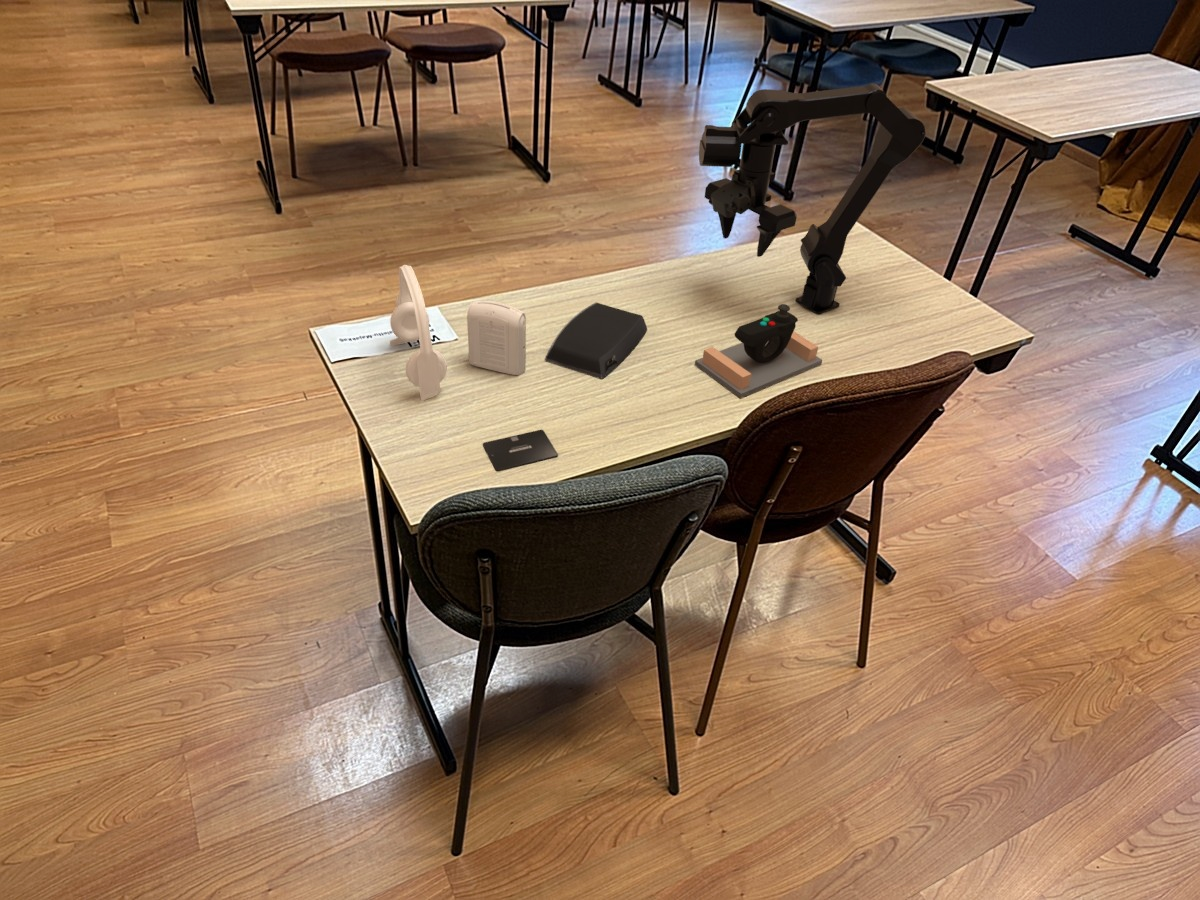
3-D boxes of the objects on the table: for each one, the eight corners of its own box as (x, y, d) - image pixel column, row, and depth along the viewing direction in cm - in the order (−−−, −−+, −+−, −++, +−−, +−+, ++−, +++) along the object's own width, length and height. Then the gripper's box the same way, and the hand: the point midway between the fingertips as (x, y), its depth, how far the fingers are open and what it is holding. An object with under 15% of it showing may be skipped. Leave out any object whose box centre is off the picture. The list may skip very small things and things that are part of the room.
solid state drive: (482, 446, 130) (482, 442, 130) (542, 432, 134) (542, 428, 133) (496, 473, 125) (496, 470, 125) (558, 458, 129) (558, 455, 128)
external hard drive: (540, 361, 149) (540, 342, 147) (589, 314, 163) (590, 295, 160) (605, 383, 145) (606, 363, 143) (651, 332, 159) (652, 313, 156)
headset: (452, 399, 139) (444, 304, 127) (409, 406, 137) (397, 310, 125) (428, 337, 153) (419, 247, 142) (389, 343, 151) (377, 251, 140)
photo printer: (529, 365, 147) (529, 303, 140) (520, 378, 144) (519, 315, 136) (475, 353, 150) (472, 292, 142) (465, 366, 146) (461, 303, 139)
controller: (793, 356, 152) (804, 308, 145) (742, 376, 146) (751, 326, 140) (776, 345, 154) (787, 297, 148) (726, 364, 149) (734, 315, 143)
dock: (774, 334, 159) (777, 318, 157) (821, 364, 152) (825, 348, 150) (694, 365, 150) (697, 348, 148) (740, 398, 143) (743, 381, 140)
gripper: (687, 158, 153) (678, 238, 162) (761, 193, 141) (746, 277, 151) (731, 147, 158) (720, 225, 168) (806, 180, 147) (789, 262, 157)
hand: (742, 246), depth 161 cm, fingers open, 9 cm apart
